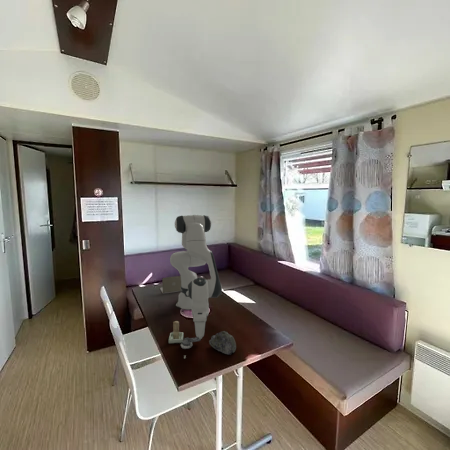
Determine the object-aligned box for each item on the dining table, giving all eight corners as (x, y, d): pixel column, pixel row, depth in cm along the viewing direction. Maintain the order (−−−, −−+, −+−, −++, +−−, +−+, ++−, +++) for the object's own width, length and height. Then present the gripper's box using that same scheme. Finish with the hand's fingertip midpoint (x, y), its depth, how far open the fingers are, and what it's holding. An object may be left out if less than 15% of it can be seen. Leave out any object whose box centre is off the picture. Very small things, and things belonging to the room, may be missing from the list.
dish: (170, 336, 141) (170, 332, 141) (183, 335, 142) (183, 332, 141) (168, 343, 134) (168, 339, 134) (182, 342, 135) (182, 339, 135)
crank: (182, 346, 130) (182, 335, 129) (181, 341, 134) (181, 331, 133) (202, 342, 133) (202, 332, 132) (201, 338, 137) (201, 328, 136)
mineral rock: (207, 345, 133) (207, 326, 132) (226, 339, 138) (226, 322, 137) (219, 359, 122) (219, 339, 121) (238, 352, 127) (238, 333, 126)
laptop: (181, 286, 220) (181, 271, 219) (185, 290, 209) (184, 275, 208) (159, 288, 213) (159, 273, 212) (162, 294, 202) (162, 278, 200)
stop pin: (173, 336, 139) (173, 321, 138) (179, 336, 140) (179, 321, 139) (173, 339, 136) (172, 323, 135) (178, 339, 137) (178, 323, 136)
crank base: (181, 342, 135) (181, 340, 135) (192, 342, 136) (192, 340, 135) (178, 358, 122) (178, 356, 122) (191, 358, 122) (190, 356, 122)
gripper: (195, 302, 142) (195, 325, 144) (193, 320, 122) (193, 347, 123) (206, 301, 142) (206, 325, 144) (206, 319, 122) (206, 346, 124)
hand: (200, 335), depth 134 cm, fingers open, 3 cm apart
